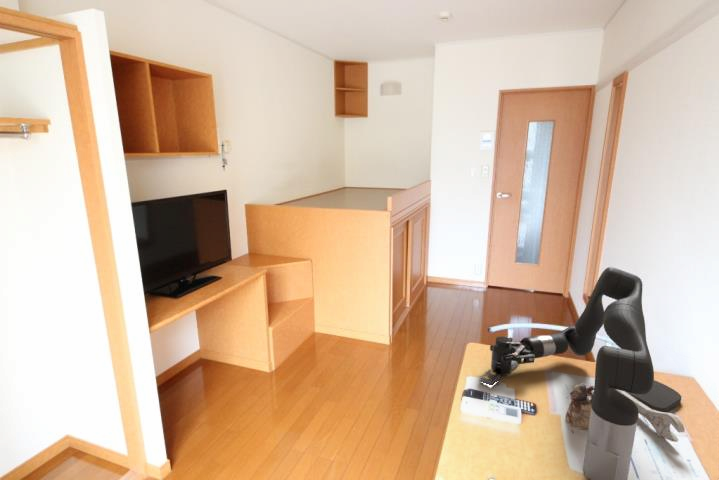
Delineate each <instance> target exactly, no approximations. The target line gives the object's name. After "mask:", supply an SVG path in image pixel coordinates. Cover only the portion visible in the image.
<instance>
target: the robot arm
mask: <svg viewBox="0 0 719 480" xmlns="http://www.w3.org/2000/svg"><path fill="white" fill-rule="evenodd" d="M603 296H605V297H608V298H611V299H613V300H615V301H613V302H610V303H609V304H608V305H607V306H606V307H605V309H604V305H603ZM602 327H603V330H604V332H605V333H606V335H607V337H609V339H610V340H611V341H612V342H613V343H614V344H616V346H618V347H615V346H609V345H602V346H600V347H599V349H598V351H597V354H596V359H595V360H596V361H595V373H594V385H593V387H594V390H593V391H592V393H593V399H592V398H591V399H592V405H591V412H590V419H589V426H588V429H587V432H586V433H587V435H586V442H585V443H586V444H585V450H584V457H583V465H582V467H583V470H584V477H585V478H587V479H588V480H628V478H629V473H630V467H631V462H632V461H631V460H632V454H633V447H634V443H635V435H636V432H637V431H636V430H637V424H638V419H639V415H640V414H639V411H638V408H637V406H636V404H635V403H634V402H633V401H632V400H630V399H629V398H628V397H626V396H624V395H623V394H621V393H619V392H618V391H616V390H615V389H617V390H621V391H625V392H630V393H634V394H642V395H643V394H647V393H649V392H650V391H651V389H652V387H653V383H654V380H655V371H654V365H653V360H652V356H651V353H650V350H649V346H648V342H647V334H646V333H647V332H646V321H645V316H644V310H643V282H642V279H641V277H639V276H638V275H636V274H633V273H630V272H628V271H624V270H622V269H619V268H616V267H613V266H608V267H606V268H605V269H604V270H603V271H602V273H601V274H600V276H599V278H598V280H597V282H596V284H595V285H594V288H593V289H592V292H591V295H590V296H589V299H588V301H587V303H586V305H585V308H584V310H583V312H582V313H581V314H580V316H579V317H578V319H577V320H576V322H575V325H571V326H568V327H567V328H564V329H562V330H561V331H559V332H556V333H552V334H541V335H534V336H527V337H523V338H521V340H520V341H514V339H513V337H508V338H509V339H510V346H511V348H512V350H513V354H507V355H502V361H503V362H508V361H514V362H516V361H517V362H518V364H519V365H524V364H531V363H535V359H541V358H547V357H550V356H554V355H558V354H564V353H565V352H567V351H568V348H570V350H571V351H572V353H574V354H575V355H577V356H580V357H581V356H586V355H588V354H589V353H590V352H591V351H592V350H593V348H594V346H595V342H596V341H595V340H596V338H597V333H598V332H599V331H600V330H601V328H602ZM493 345H494V344H491V345H490V347H489V351H490V352H492V347H493ZM522 359H523V360H522Z"/></svg>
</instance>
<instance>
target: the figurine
mask: <svg viewBox="0 0 719 480" xmlns="http://www.w3.org/2000/svg"><path fill="white" fill-rule="evenodd" d="M593 392H594V385H591V386H589V387H587V386H586V384H585V383H578V384H576V385H575V386H574V388H573V390H572V391H571V392H570V393H569V395H570V403H569V404H568V408H567V411H566V413H565V418H564V419H565V420H566V422H567V423H568V424H569V425H570V426H572V427H574V428H576V429H580V430H588V426H589V419H590V412H591V405H592V399H593ZM589 397H591V399H590V398H589Z"/></svg>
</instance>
